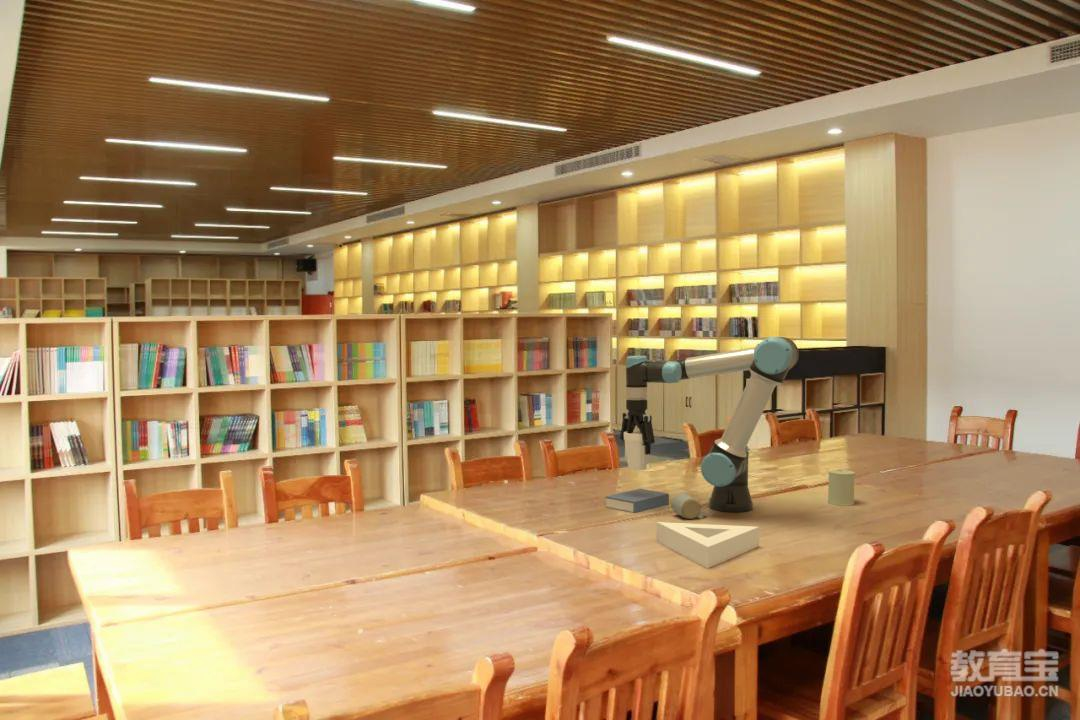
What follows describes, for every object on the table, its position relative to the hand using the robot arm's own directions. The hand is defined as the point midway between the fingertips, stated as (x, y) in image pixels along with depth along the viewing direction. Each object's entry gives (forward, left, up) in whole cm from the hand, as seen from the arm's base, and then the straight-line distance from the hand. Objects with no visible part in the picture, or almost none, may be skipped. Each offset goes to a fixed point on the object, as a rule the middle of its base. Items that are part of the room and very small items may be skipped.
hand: (637, 461), depth 300 cm
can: (-33, -69, -16) cm, 78 cm away
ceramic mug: (-22, -6, -16) cm, 28 cm away
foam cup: (0, 0, -3) cm, 3 cm away
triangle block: (-59, +14, -17) cm, 63 cm away
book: (0, -1, -17) cm, 17 cm away
